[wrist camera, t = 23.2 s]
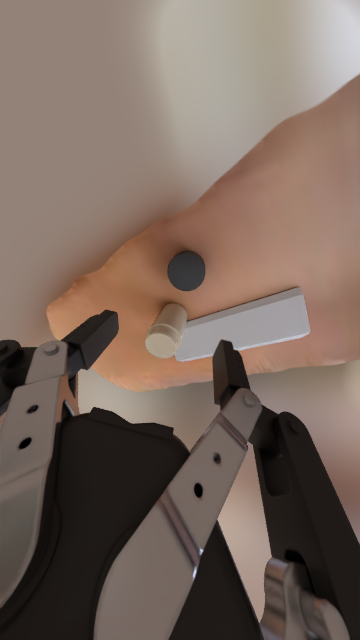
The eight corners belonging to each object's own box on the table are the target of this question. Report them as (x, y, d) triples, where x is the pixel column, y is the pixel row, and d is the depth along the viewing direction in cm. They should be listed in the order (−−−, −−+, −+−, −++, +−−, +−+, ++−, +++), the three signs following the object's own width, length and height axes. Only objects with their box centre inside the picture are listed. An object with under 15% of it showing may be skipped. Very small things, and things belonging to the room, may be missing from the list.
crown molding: (298, 287, 26) (310, 295, 23) (301, 335, 32) (311, 346, 29) (165, 329, 36) (161, 338, 34) (185, 360, 42) (183, 370, 39)
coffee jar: (172, 297, 31) (156, 323, 22) (193, 316, 33) (187, 348, 23) (156, 315, 34) (135, 345, 25) (175, 331, 36) (163, 365, 26)
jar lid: (208, 282, 28) (208, 286, 26) (176, 290, 30) (174, 295, 28) (200, 245, 25) (200, 247, 23) (165, 257, 27) (162, 259, 25)
